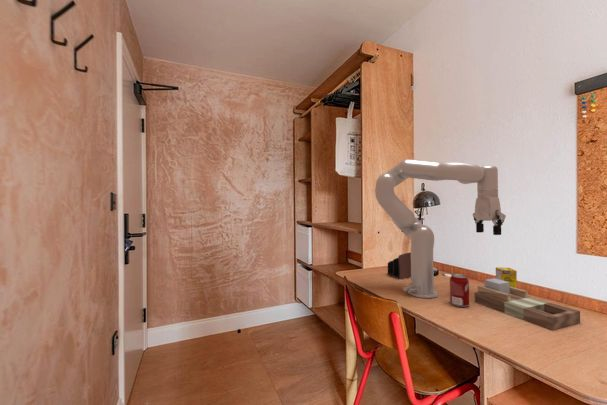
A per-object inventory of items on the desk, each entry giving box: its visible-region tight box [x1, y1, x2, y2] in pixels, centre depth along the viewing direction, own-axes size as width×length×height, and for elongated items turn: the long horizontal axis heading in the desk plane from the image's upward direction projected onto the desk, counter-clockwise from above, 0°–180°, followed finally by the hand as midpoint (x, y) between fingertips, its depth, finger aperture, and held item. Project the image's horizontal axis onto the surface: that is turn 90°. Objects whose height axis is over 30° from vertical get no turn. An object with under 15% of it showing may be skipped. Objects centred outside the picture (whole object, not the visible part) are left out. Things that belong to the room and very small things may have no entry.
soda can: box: [449, 273, 470, 308], centre depth 110 cm, size 7×7×12 cm
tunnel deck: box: [474, 285, 581, 331], centre depth 103 cm, size 15×27×6 cm, turn 20°
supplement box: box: [495, 266, 518, 288], centre depth 124 cm, size 6×6×11 cm
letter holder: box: [387, 251, 411, 280], centre depth 155 cm, size 10×20×14 cm, turn 113°
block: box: [484, 277, 510, 294], centre depth 112 cm, size 6×6×5 cm
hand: (488, 233), depth 118 cm, fingers open, 9 cm apart
